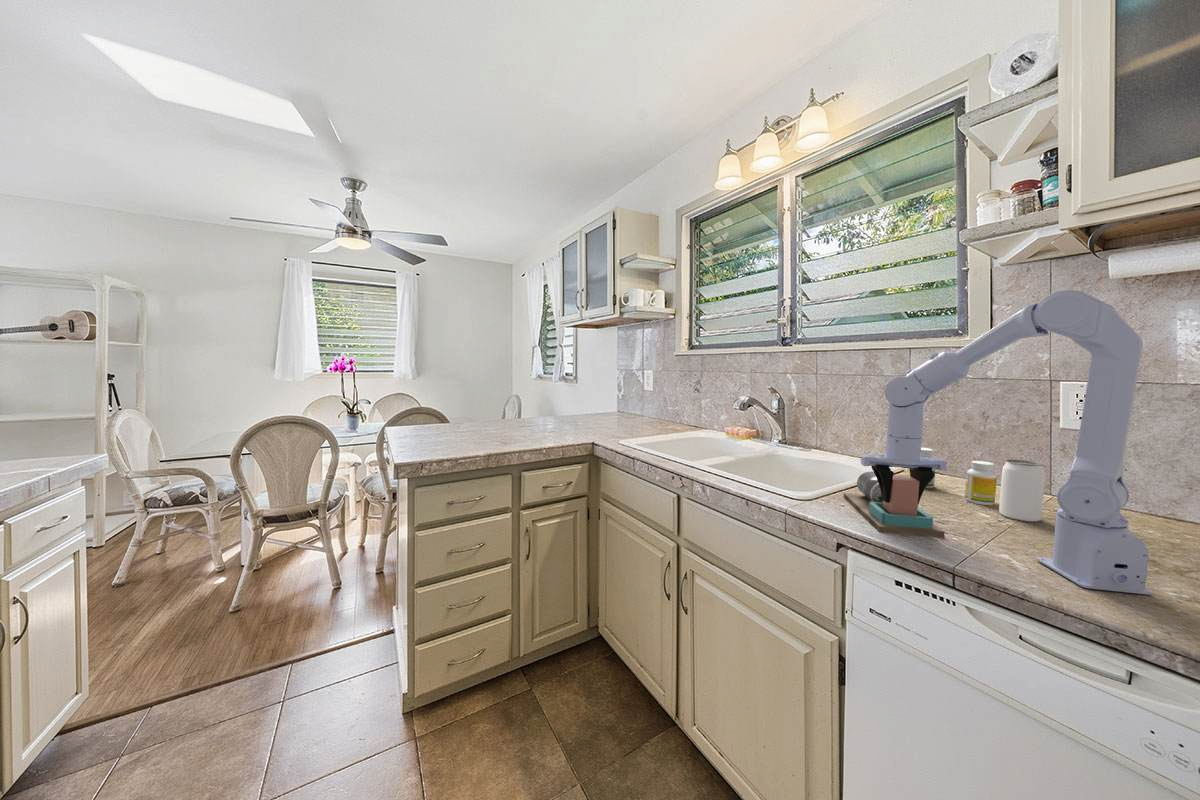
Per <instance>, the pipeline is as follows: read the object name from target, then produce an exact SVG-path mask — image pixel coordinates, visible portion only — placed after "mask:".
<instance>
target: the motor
mask: <svg viewBox="0 0 1200 800" xmlns="http://www.w3.org/2000/svg"><path fill="white" fill-rule="evenodd" d="M856 486H857V489H858V490H859V492H860V494H864V495H865V496H866V497H867V498H869V499H870V500H871V501H872V502H883V500H882V495H881V490H880V486H879V483H878V480H877V478H876V475H875V473H874V471H866V472H863V473H861V474H860V475H859V477H858V478H857V481H856Z"/></svg>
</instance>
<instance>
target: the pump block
mask: <svg viewBox="0 0 1200 800" xmlns="http://www.w3.org/2000/svg"><path fill="white" fill-rule="evenodd" d="M918 495H919V481H918V480H916V479H914V478H912V477H910V476H909V475H907V474H906V475H903V474H902V475H901V474H894V475H893V479H892V483H891V497H890V503H888V502H885V501H883V506H882V507H884V508H885V509H886V510H887V511H888V512H890V513H891V514H900V515H912V516H917V510H918V508H919V504H918Z"/></svg>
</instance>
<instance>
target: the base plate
mask: <svg viewBox="0 0 1200 800" xmlns="http://www.w3.org/2000/svg"><path fill="white" fill-rule="evenodd" d="M843 498H844V499H845V500H846V501H847V502H848V503H849V504H850V505H851V506H852V507H853V508H854V509H856V511H858V513H859V514H860V515H861V516H862V517H864V519H866V521H868V522H869V524H871V525H872V526H873V527H874V528H875V529H876V530H877V531H878V532H883V533H884V532H885V533H894V534H907V535H916V536H917V535H918V536H929V537H940V538H945V533H946V532H945V531H944V530H942V529H941V528H940V527H938V526H937V524H934V523H933V524H932V529H927V528H915V527H903V526H891V525H886V524H884V523H881V522H880V521H879V520H877V519H876V518H875V517H874V516H873V515H872V514H871V513H870V512H869V503H870V501H871V500H870V499H869V498H867V497H866V496H865V495H864V494H863V493H851V492H850V493H848V492H843ZM871 502H872V501H871ZM887 514H891V513H887ZM897 515H900V514H897ZM910 516H911V515H910Z"/></svg>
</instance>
